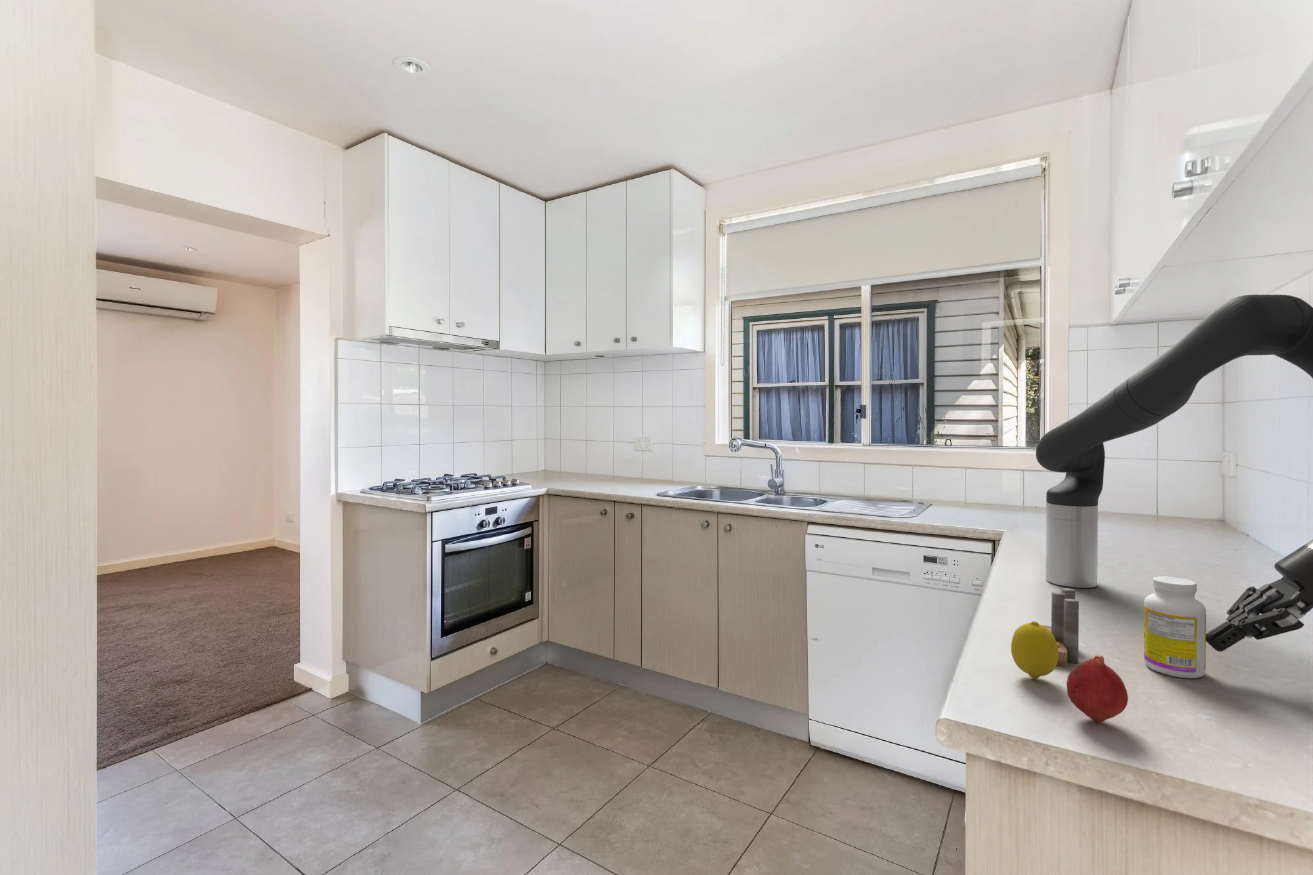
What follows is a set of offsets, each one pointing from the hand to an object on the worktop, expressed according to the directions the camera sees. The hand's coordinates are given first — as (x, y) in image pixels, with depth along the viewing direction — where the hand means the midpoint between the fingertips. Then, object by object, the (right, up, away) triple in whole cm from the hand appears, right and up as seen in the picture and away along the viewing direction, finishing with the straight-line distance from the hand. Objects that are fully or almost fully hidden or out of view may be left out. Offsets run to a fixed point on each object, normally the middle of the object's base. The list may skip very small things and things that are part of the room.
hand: (1210, 644), depth 83 cm
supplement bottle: (-3, -4, +2) cm, 6 cm away
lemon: (-25, -5, 0) cm, 25 cm away
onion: (-25, -5, -12) cm, 28 cm away
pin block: (-16, -4, +10) cm, 19 cm away
